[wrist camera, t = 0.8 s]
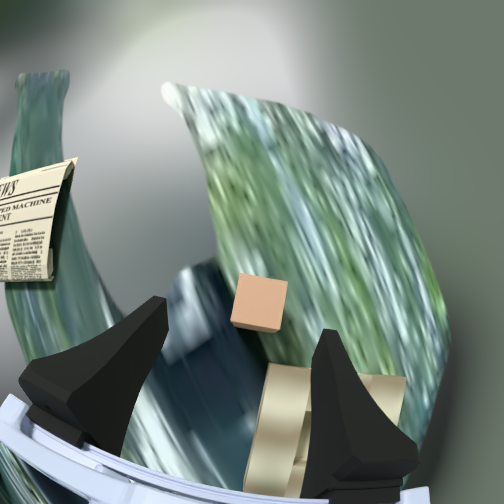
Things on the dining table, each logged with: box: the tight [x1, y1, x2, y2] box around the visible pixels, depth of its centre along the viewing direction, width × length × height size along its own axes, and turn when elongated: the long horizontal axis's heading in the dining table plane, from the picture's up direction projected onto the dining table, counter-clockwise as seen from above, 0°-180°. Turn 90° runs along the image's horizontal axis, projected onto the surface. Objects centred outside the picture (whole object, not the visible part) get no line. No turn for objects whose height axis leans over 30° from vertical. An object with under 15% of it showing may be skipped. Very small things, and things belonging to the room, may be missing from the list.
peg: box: [231, 273, 288, 334], centre depth 27 cm, size 4×4×7 cm
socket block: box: [243, 362, 407, 498], centre depth 25 cm, size 14×14×4 cm
